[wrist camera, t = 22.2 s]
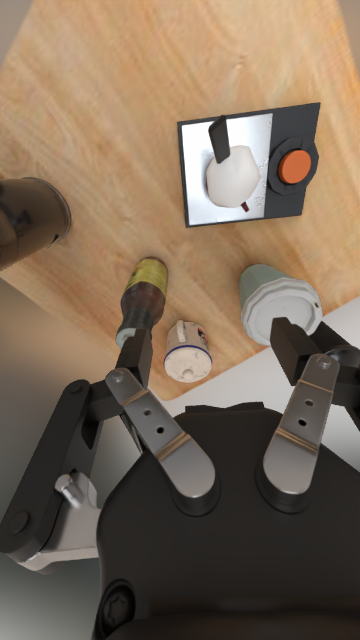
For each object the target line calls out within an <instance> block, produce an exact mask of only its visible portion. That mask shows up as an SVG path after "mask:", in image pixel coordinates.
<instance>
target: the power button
mask: <svg viewBox="0 0 360 640" xmlns="http://www.w3.org/2000/svg"><path fill="white" fill-rule="evenodd" d="M310 166H311V159H310V156H309V154H308V153H307V152H305V151H303V150H297V151H292V152H290V153H288V154H287V155H285V156H284V157H283V159H282V160H281V162H280V164H279V168H278V174H279V177H280V179H281V180H282V181H283V182H286V183H297V182H299V181H301V180H302V179H303V178H304V177H305V176H306V175H307V173H308V172H309V169H310Z"/></svg>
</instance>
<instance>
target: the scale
mask: <svg viewBox="0 0 360 640" xmlns="http://www.w3.org/2000/svg"><path fill="white" fill-rule="evenodd" d="M319 109H320V102H319V103H312V104H305V105H297V106H290V107H283V108H276V109H268V110H261V111H254V112H247V113H239V114H232V115H226V119H234V118H241V117H248V116H256V115H263V114H270V113H273V115H272V127H271V138H270V149H269V161H268V172H267V184H266V195H265V206H264V217H262V218H253V219H244V220H234V221H225V222H216V223H207V224H198V225H189V216H188V203H187V190H186V177H185V164H184V151H183V138H182V125H190V124H197V123H204V122H212V121H215V120H217V119H218V118H219V117H220V116H218V117H210V118H203V119H196V120H189V121H181V122H177V125H178V137H179V149H180V161H181V173H182V185H183V196H184V208H185V220H186V228H188V227H197V226H206V225H216V224H225V223H234V222H243V221H253V220H262V219H271V218H280V217H290V216H299V215H302V209H303V203H304V197H305V191H306V186H307V185H308V184H309V182H310V181H311V179H312V178H313V176H314V174H315V173H316V170H317V164H318V159H319V155H318V152H317V149H316V146H315V143H314V138H315V133H316V127H317V121H318V115H319ZM297 150H303V151H305V152H307V153H308V154H309V156H310V159H311V166H310V169H309V172H308V173H307V175H306V176H305V177H304V178H303V179H302V180H301V181H299V182H297V183H286V182H283V181H282V180H281V179H280V177H279V174H278V168H279V164H280V162H281V160H282V159H283V157H284V156H285V155H287V154H288V153H290V152H292V151H297Z"/></svg>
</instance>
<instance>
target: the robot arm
mask: <svg viewBox="0 0 360 640" xmlns="http://www.w3.org/2000/svg"><path fill="white" fill-rule="evenodd" d="M70 224H71V216H70V211H69V208H68V205H67V203H66V201H65V200H64V198H63V197H62V195H61V194H60V193H59V192H58V191H57V190H56V189H55V188H54V187H53V186H52V185H50V184H49V183H47V182H45V181H43V180H40V179H37V178H21V179H0V271H2V270H4V269H6V268H8V267H9V266H11V265H13V264H15V263H17V262H18V261H20V260H22V259H24V258H26V257H28V256H30V255H31V254H33V253H35V252H37V251H39V250H41V249H43V248H44V247H46V246H48V245H50V244H51V245H52V244H54V243H55V242H57V241H59V240H61V239H62V238H64V237H65V236H66V234H67V233H68V231H69V228H70ZM51 245H50V246H51ZM50 246H49V247H50ZM47 248H48V247H47ZM270 344H271V347H272V349H273V351H274V353H275V355H276V357H277V359H278V361H279V363H280V365H281V367H282V369H283V371H284V372H285V374H286V376H287V378H288V380H289V382H290V384H291V386H295V389H294V391H293V393H292V395H291V398H290V400H289V403H288V405H287V407H286V409H285V412H284V414H281V413H279V412H277V411H274V410H271V409H268V408H265V407H264V404H263V402H248V403H241V404H237V405H234V406H231V407H227V408H219V407H213V406H207V405H196V406H185V412H184V413H181V414H179V415H177V416H175V417H174V418H172V417H171V415H170V414H169V413H168V412H167V410H166V409H165V408H164V407H163V406H162V405H161V403H160V402H159V401H158V400H157V398H156V397H155V396H154V395H153V394H152V392H151V391H150V390H149V389H147V386H148V380H149V373H150V367H151V361H152V355H153V349H152V343H151V339H150V334H149V330H148V328H137V329H136V330H135V334H134V336H132V337H128V338H127V339H126V340H125V341H124V343H123V346H122V349H121V353H120V355H119V358H118V361H117V364H116V367H115V369H114V370H112V371H110V372H109V373H108V374H107V376H106V378H105V379H104V380H103V381H99V382H96V383H93V384H90V383H89V382H88V381H87V380H83V379H82V380H77V381H74V382H72V383H70V384H69V385H68V386H67V387H66V388H65V389H64V391H63V393H62V395H61V397H60V399H59V401H58V403H57V405H56V408H55V410H54V412H53V414H52V416H51V418H50V420H49V423H48V425H47V427H46V429H45V431H44V433H43V435H42V437H41V439H40V441H39V444H38V446H37V448H36V450H35V452H34V454H33V456H32V458H31V460H30V463H29V465H28V467H27V469H26V471H25V473H24V475H23V477H22V480H21V482H20V484H19V486H18V488H17V490H16V492H15V494H14V496H13V499H12V501H11V503H10V505H9V507H8V509H7V511H6V513H5V515H4V518H3V520H2V522H1V524H0V552H2V553H4V554H6V555H7V556H9V557H11V559H12V560H13V561H15V562H17V563H19V564H20V565H22V566H25V567H26V568H28V569H30V570H33V571H37V572H39V573H41V574H43V575H48V574H51V573H53V572H55V571H56V570H58V569H59V568H60V567H61V566H62V565H63V564H64V563H65V561H66V560H75V559H84V558H94V557H99V562H100V575H101V583H100V584H101V585H100V598H99V605H98V610H97V615H96V619H95V623H94V627H93V631H92V636H91V640H360V472H358V471H357V470H356V469H354V468H353V467H352V466H351V465H349V464H348V463H347V462H345V461H344V460H343V459H341V458H340V457H339V456H337V455H336V454H335V453H334V452H332V451H331V450H330V449H328V448H327V447H326V446H324V445H323V444H322V443H321V439H322V435H323V432H324V428H325V424H326V420H327V417H328V413H329V409H330V406H331V404H334V405H339V406H344V407H345V408H346V410H347V412H348V413H349V415H350V417H351V418H352V420H353V421H354V423H355V425H356V426H357V428H358V430H359V431H360V363H359V365H358V367H351V366H344V365H340V364H339V363H338V361H337V360H335V359H334V358H333V357H331V356H328V355H325V354H322V353H321V351H320V350H319V349H318V347H317V346H316V345H315V343H314V342H313V341H312V340H311V339H310V337H309V336H308V335H307V333H306V332H305V331H304V329H303V328H301V327H300V326H298V325H297V324H291V322H290V321H289V319H288V318H287V317H277V318H273V320H272V326H271V333H270ZM117 415H119V416H120V418H121V419H122V421H123V423H124V424H125V426H126V428H127V429H128V431H129V433H130V434H131V436H132V438H133V440H134V442H135V444H136V446H137V448H138V450H139V451H140V453H141V456H140V457H139V459H138V460H137V461H136V462H135V463H134V465H133V466H132V467H131V468H130V470H129V471H128V472H127V473H126V475H125V476H124V477H123V479H122V480H121V481H120V482H119V483H118V485H117V486H116V487H115V488H114V490H113V491H112V492H111V493H110V495H109V496H108V497H107V499H106V501H105V503H104V505H103V507H102V508H97V507H96V499H97V493H96V489H95V488H94V486H93V485H92V483H91V482H90V480H89V478H90V474H91V470H92V466H93V462H94V458H95V454H96V450H97V446H98V442H99V438H100V434H101V430H102V426H103V422H104V420H106V419H108V418H112V417H114V416H117Z"/></svg>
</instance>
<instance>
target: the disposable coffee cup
mask: <svg viewBox="0 0 360 640" xmlns="http://www.w3.org/2000/svg"><path fill="white" fill-rule="evenodd" d="M238 286H239V294H240V303H241V312H242V315H241V320H242V323H243V326H244V329H245V332H246V333H247V335H248V336H249V337H251V338H252V339H253V340H255V341H256V342H258V343H259V344H261V345H268V346H271V344H270V333H271V326H272V320H273V318H277V317H287V318H288V319H289V321H290V322H291V324H297V325H298V326H300V327H301V328H303V329H304V331H305V332H306V333H307V335H308V336H309V335H311V334H312V333H314V332H315V330H316V328H317V327H318V325H319V323H320V322H321V320H322V318H323V315H322V306H321V301H320V298H319V296H318V294H317V293H316V291H315V289H314V288H312V287H311V286H310V285H309V284H308V283H307V282H306V281H305V280H299V279H295V278H293V277H291V276H289V275H287V274H285V273H283V272H281V271H279V270H277V269H275V268H273V267H271V266H269V265H265V264H255V265H253V266H250V267H248V268H247V269H246V270H245V271H244V272H243V273H242V274H241V276H240V280H239V283H238Z"/></svg>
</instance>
